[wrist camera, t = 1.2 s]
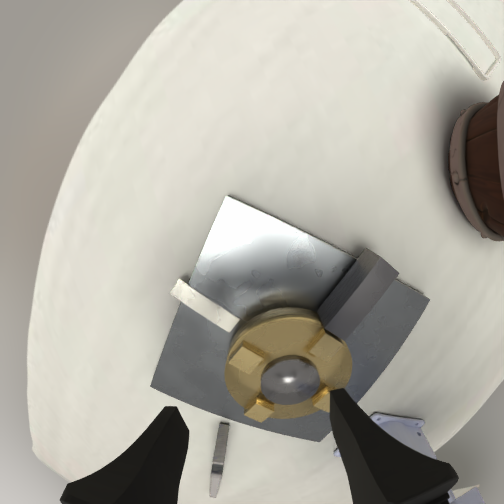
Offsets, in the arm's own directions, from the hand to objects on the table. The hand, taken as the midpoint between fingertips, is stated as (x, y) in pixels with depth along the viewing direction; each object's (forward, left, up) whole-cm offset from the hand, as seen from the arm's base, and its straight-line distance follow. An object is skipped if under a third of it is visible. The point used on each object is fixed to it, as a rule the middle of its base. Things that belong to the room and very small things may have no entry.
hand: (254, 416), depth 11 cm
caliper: (-5, +22, -10) cm, 25 cm away
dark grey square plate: (-3, +1, -10) cm, 11 cm away
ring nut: (-4, -1, -8) cm, 9 cm away
